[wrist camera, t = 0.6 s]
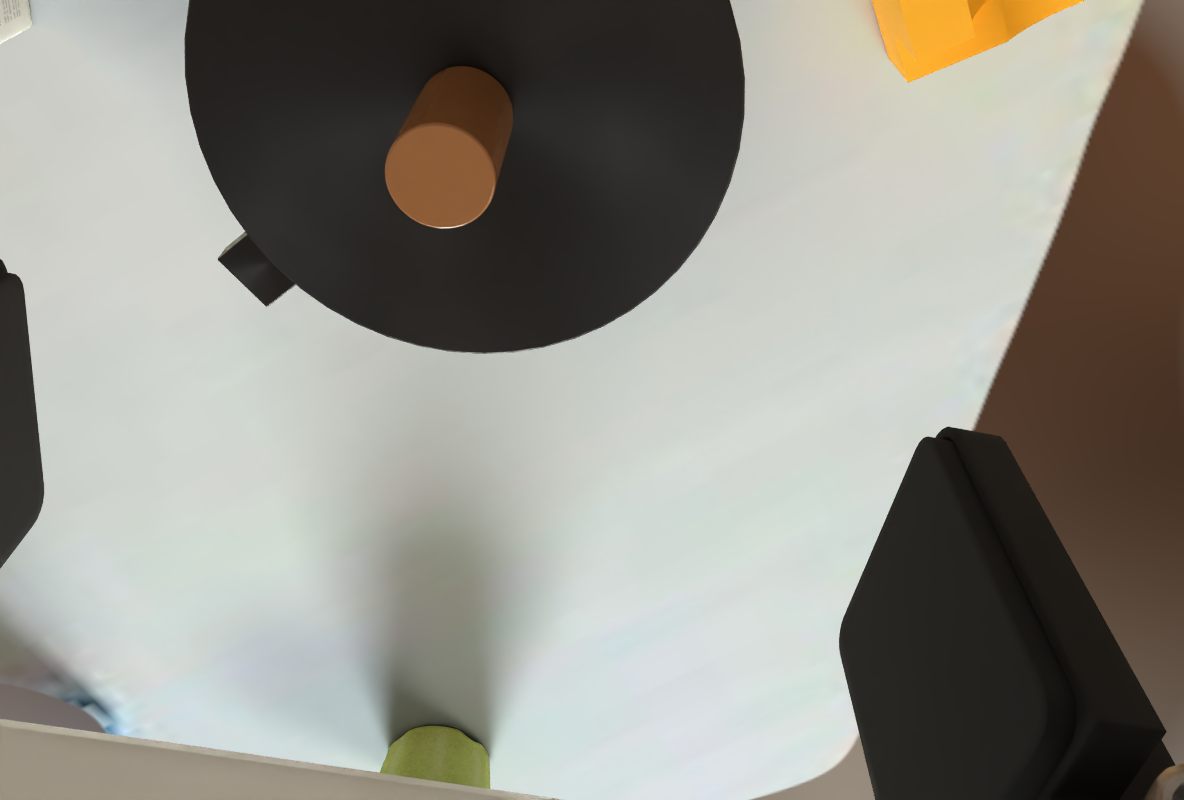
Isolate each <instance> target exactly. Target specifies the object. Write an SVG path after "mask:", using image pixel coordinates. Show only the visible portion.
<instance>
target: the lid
mask: <svg viewBox="0 0 1184 800" xmlns="http://www.w3.org/2000/svg"><path fill="white" fill-rule="evenodd" d="M185 78H186V85H187V92H188V99H189V106H190V112H191V116H192V119H193V123H194V127H195V130H196V134H197V138H198V141H199V145H200V148H201V150H202V153H203V155H204V158H205V160H206V163H207V165H208V168H209V170H210V172H211V175H212V177H213V180H214V182H215V183H216V185H217V187H218V189H219V191H220V192H221V194H222V196H223V198H224V200H225V201H226V203H227V205H228V207H229V209H230V210H231V212H232V213H233V215H234V216H235V218H236V219H237V220H238V222H239V223H240V225H241V226H242V227H243V229H244V230H245V231H246V233H247V234H248V236H249V237H250V238H251V240H252V241H253V242H254V243H255V244H256V245H257V246H258V248H259V249H260V250H261V251H262V252H263V253H264V254H265V255H266V256H267V258H268V259H269V260H270V261H271V262H272V263H273V264H274V265H275V266H276V267H277V268H278V269H279V270H280V271H281V272H283V273H284V274H285V275H286V276H287V277H288V278H289V279H290V280H292V281H293V282H294V283H295V284H296V285H297V286H298V287H299V288H301V289H302V290H304V291H305V292H306V293H308V294H309V295H311V296H312V297H313V298H315V299H316V300H318V301H319V302H320V303H322V304H323V305H325V306H326V307H328V308H329V309H331V310H333V311H335V312H336V313H338V314H340V315H342V316H344V317H345V318H347V319H349V320H351V321H353V322H354V323H356V324H358V325H361V326H363V327H366V328H368V329H370V330H373V331H375V332H377V333H380V334H382V335H385V336H387V337H390V338H393V339H397V340H400V341H404V342H407V343H410V344H414V345H417V346H422V347H427V348H433V349H438V350H444V351H449V352H463V353H478V354H487V353H509V352H518V351H524V350H530V349H537V348H543V347H547V346H550V345H554V344H557V343H561V342H564V341H568V340H571V339H575V338H577V337H579V336H582V335H584V334H586V333H589V332H591V331H594V330H596V329H598V328H601V327H603V326H605V325H607V324H608V323H610V322H612V321H614V320H615V319H617V318H619V317H621V316H622V315H624V314H626V313H627V312H629V311H631V310H632V309H634V308H635V307H636V306H637V305H639V304H640V303H641V302H643V301H644V300H645V299H647V298H648V297H649V296H651V295H652V294H653V293H655V292H656V291H657V290H658V289H659V288H660V287H661V286H662V285H663V284H664V283H665V282H666V281H667V280H668V279H669V278H670V277H671V276H672V275H673V274H674V273H676V272H677V271H678V270H679V269H680V267H681V266H682V265H683V263H684V262H685V261H686V260H687V258H688V257H689V256H690V255H691V253H692V252H693V251H694V250H695V248H696V247H697V246H698V244H699V243H700V241H701V240H702V238H703V236H704V235H705V233H706V231H707V230H708V228H709V226H710V225H711V223H712V221H713V220H714V218H715V216H716V215H717V212H718V210H719V208H720V205H721V203H722V201H723V198H724V196H725V194H726V191H727V189H728V187H729V184H730V181H731V178H732V174H733V171H734V167H735V164H736V160H737V156H738V153H739V149H740V142H741V135H742V128H743V121H744V102H745V76H744V68H743V60H742V52H741V43H740V38H739V34H738V30H737V26H736V23H735V19H734V15H733V11H732V7H731V3H730V1H729V0H189V7H188V15H187V23H186V31H185Z"/></svg>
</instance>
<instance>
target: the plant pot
mask: <svg viewBox="0 0 1184 800" xmlns="http://www.w3.org/2000/svg"><path fill="white" fill-rule="evenodd" d="M380 773H384V774H391V775H397V776H404V777H411V778H418V779H425V780H432V781H438V782H445V783H452V784H459V785H466V786H472V787H479V788H486V789H490V763H489V757H488V755H487V752H486V750H485V749H484V747H483V746H482V745H481V744H480V743H476V742H474V741H472V740H471V739H470V738H468V737H467V736H466V735H465V734H463V733H462V732H461V731H460V730H457V729H454V728H450V727H444V726H424V727H418V728H414V729H412V730H409V731H408V732H407V733H405V734H404V735H403V736H402V737H401V738H400V739H398V740H397V741H395V742H394V743H392V745H391V747H390V749H389V751H388V754H387V756H386V758H385V761H384V763H383V766H382V768H381V771H380Z"/></svg>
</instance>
